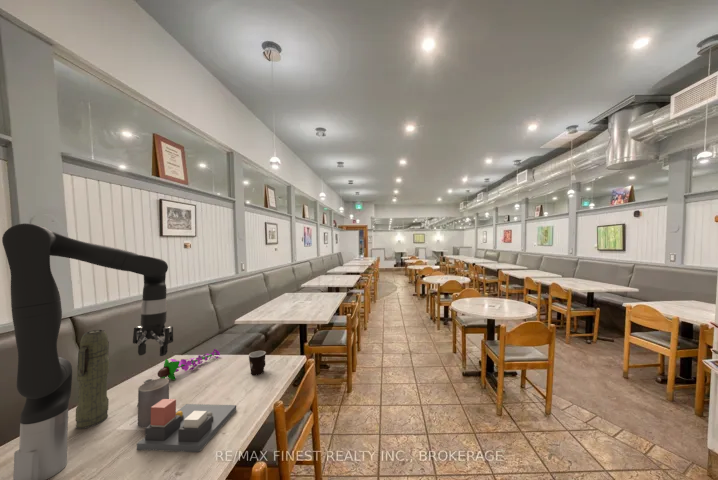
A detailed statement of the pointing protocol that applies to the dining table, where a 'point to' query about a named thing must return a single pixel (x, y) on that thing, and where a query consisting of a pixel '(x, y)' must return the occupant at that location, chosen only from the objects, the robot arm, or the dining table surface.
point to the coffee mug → (257, 362)
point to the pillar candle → (150, 398)
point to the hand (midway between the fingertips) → (152, 355)
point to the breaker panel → (186, 429)
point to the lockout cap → (163, 412)
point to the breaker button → (195, 419)
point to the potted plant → (182, 365)
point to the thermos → (92, 379)
